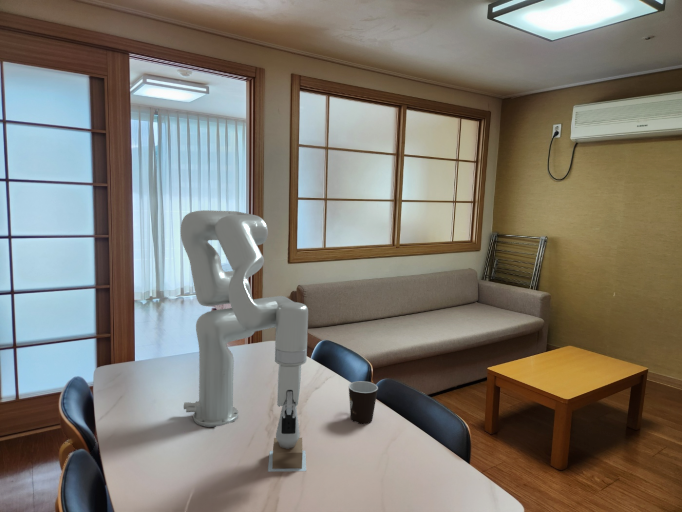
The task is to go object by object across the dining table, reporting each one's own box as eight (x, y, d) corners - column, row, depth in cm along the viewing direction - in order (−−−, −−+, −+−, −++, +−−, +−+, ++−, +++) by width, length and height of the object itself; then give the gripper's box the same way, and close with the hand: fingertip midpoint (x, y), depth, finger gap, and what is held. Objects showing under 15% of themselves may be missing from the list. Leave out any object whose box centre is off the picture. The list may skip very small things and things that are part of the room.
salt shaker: (275, 438, 116) (278, 388, 115) (299, 438, 117) (301, 388, 116) (275, 450, 111) (277, 397, 109) (299, 450, 111) (302, 398, 110)
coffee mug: (374, 427, 134) (375, 394, 132) (344, 423, 135) (346, 390, 134) (378, 410, 145) (380, 379, 144) (351, 406, 147) (353, 376, 145)
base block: (272, 468, 110) (272, 452, 110) (273, 452, 117) (274, 437, 117) (301, 468, 111) (302, 452, 111) (301, 452, 118) (302, 437, 117)
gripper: (276, 343, 119) (274, 407, 121) (273, 367, 102) (271, 441, 104) (305, 343, 120) (303, 407, 122) (307, 367, 103) (304, 441, 105)
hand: (288, 423), depth 113 cm, fingers open, 9 cm apart
